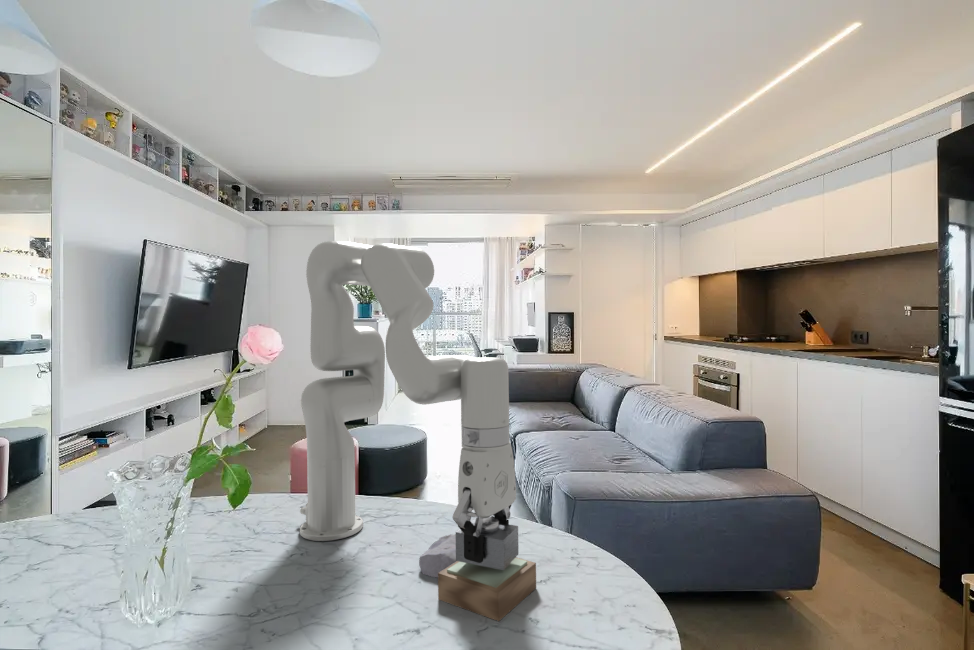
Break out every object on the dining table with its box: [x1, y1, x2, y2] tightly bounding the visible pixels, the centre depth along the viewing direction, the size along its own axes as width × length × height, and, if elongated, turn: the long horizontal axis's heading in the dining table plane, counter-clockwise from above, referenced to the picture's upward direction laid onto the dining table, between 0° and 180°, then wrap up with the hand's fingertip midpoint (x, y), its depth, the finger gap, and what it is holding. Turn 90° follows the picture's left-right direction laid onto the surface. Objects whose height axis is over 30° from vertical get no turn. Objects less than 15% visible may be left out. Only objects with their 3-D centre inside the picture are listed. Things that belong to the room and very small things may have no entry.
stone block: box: [418, 533, 456, 578], centre depth 90 cm, size 12×5×10 cm
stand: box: [437, 556, 537, 622], centre depth 79 cm, size 11×11×4 cm
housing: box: [455, 516, 520, 570], centre depth 79 cm, size 6×8×6 cm
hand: (487, 550), depth 79 cm, fingers closed on housing, 6 cm apart
